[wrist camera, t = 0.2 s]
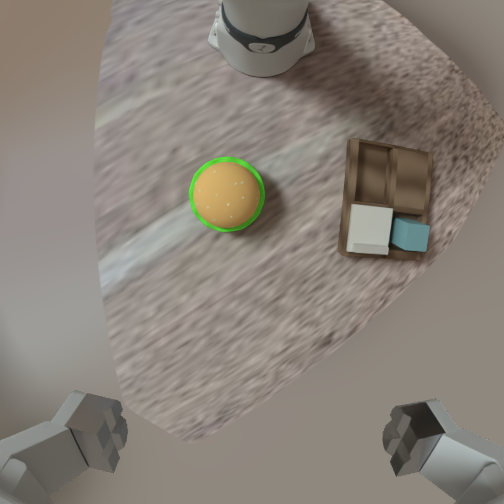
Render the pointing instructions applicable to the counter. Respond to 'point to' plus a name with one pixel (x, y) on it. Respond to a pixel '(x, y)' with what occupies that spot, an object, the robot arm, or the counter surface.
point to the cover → (369, 229)
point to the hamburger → (227, 194)
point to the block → (409, 234)
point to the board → (385, 187)
